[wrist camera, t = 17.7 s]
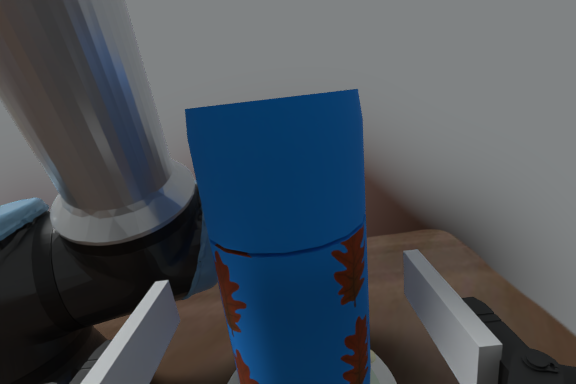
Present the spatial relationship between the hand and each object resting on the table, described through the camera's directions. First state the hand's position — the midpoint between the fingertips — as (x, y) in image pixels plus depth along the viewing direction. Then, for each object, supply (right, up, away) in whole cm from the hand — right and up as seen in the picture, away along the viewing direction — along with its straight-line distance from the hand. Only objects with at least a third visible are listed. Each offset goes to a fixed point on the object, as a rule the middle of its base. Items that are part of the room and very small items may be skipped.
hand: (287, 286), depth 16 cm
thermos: (+2, -13, +10) cm, 16 cm away
